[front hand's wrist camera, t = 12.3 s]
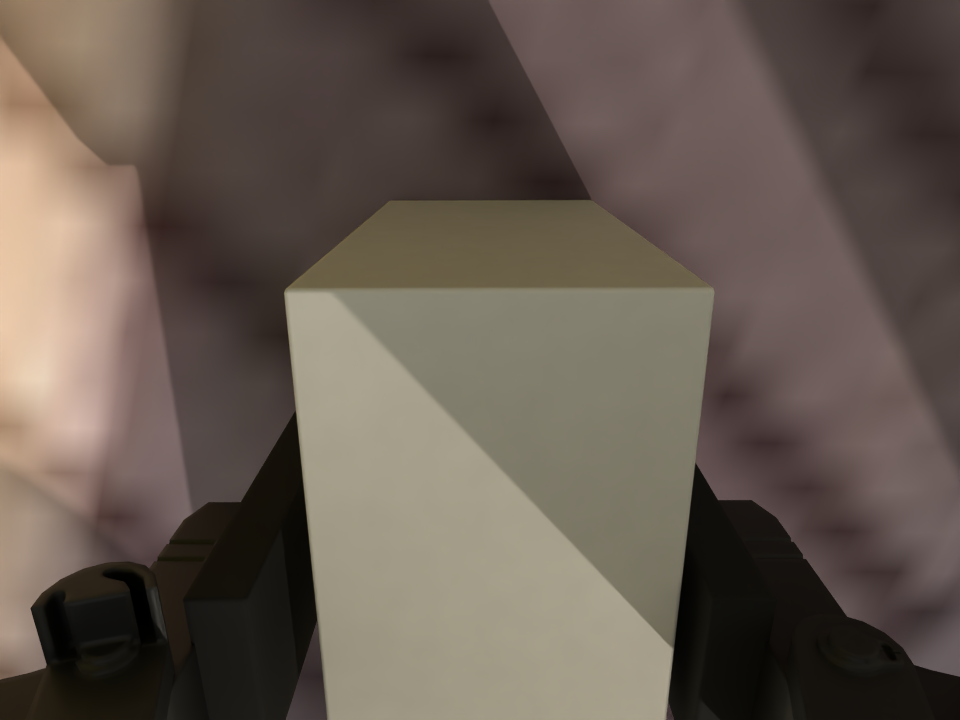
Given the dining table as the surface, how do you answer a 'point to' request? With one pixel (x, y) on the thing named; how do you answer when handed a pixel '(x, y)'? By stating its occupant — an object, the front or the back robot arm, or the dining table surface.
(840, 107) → the dining table surface
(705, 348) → the beam
